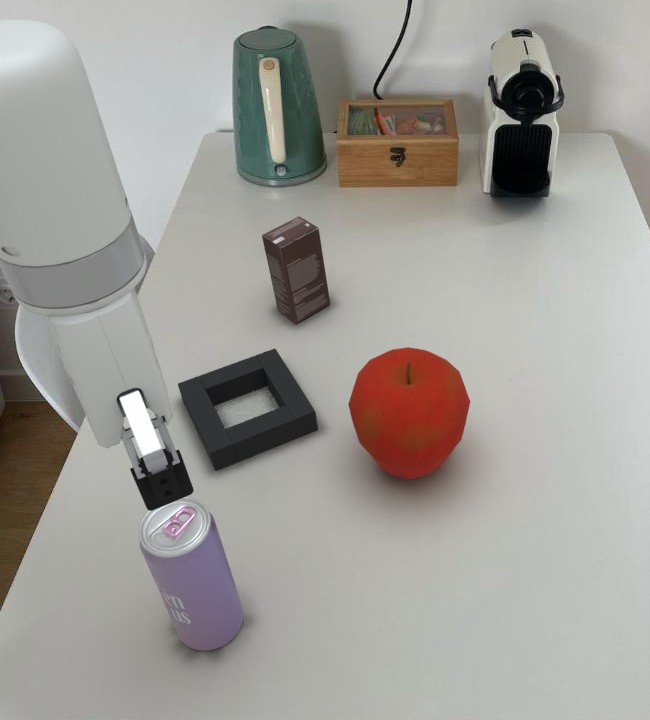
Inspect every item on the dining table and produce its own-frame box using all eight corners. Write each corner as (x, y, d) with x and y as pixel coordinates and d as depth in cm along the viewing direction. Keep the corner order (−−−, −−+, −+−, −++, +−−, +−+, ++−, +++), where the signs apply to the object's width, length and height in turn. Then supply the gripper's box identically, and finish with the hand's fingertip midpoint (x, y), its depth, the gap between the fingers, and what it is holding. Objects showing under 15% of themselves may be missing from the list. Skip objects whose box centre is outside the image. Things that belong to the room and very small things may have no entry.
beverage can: (258, 612, 74) (228, 512, 64) (215, 666, 71) (177, 569, 60) (208, 584, 77) (172, 483, 66) (164, 634, 73) (119, 537, 63)
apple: (348, 427, 91) (336, 331, 81) (452, 409, 92) (453, 314, 83) (365, 515, 82) (354, 419, 72) (480, 494, 83) (484, 398, 74)
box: (310, 290, 109) (299, 214, 101) (331, 305, 107) (321, 228, 99) (274, 310, 107) (259, 233, 98) (294, 326, 104) (281, 248, 96)
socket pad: (215, 471, 87) (210, 452, 85) (183, 401, 95) (177, 383, 93) (318, 429, 91) (315, 411, 89) (278, 366, 99) (275, 347, 97)
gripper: (-16, 204, 51) (73, 396, 62) (30, 368, 39) (129, 566, 51) (104, 170, 53) (169, 362, 65) (181, 316, 41) (242, 516, 53)
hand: (151, 451), depth 58 cm, fingers open, 9 cm apart
